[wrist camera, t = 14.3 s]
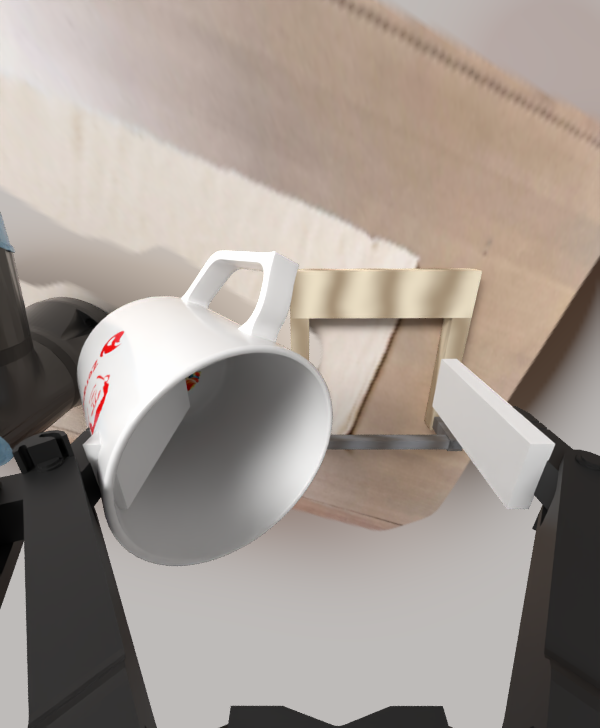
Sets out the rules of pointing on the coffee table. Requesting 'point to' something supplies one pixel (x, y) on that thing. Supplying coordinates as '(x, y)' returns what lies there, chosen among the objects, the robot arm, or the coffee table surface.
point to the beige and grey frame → (390, 300)
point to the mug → (206, 414)
